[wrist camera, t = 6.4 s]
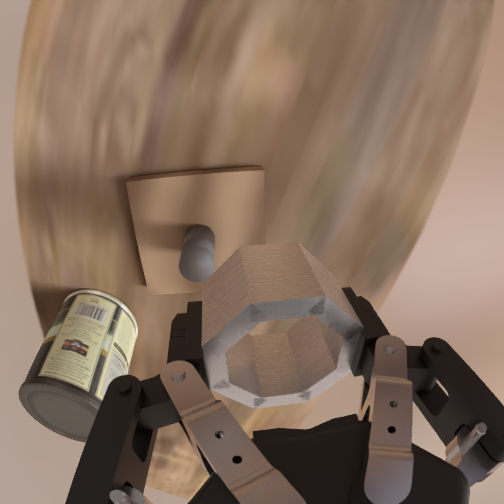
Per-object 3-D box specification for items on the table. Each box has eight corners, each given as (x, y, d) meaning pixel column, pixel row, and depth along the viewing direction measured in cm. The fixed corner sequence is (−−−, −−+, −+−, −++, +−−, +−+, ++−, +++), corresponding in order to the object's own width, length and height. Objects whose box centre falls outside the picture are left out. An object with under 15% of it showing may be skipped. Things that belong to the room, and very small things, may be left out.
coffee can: (83, 353, 37) (55, 440, 25) (49, 293, 32) (-1, 381, 20) (150, 349, 38) (134, 446, 25) (121, 282, 32) (83, 385, 20)
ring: (335, 239, 14) (372, 289, 10) (322, 338, 17) (345, 394, 13) (198, 249, 13) (194, 307, 10) (212, 350, 16) (214, 411, 13)
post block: (262, 166, 28) (273, 187, 22) (264, 279, 34) (272, 319, 28) (130, 177, 27) (107, 202, 21) (151, 286, 33) (140, 327, 27)
